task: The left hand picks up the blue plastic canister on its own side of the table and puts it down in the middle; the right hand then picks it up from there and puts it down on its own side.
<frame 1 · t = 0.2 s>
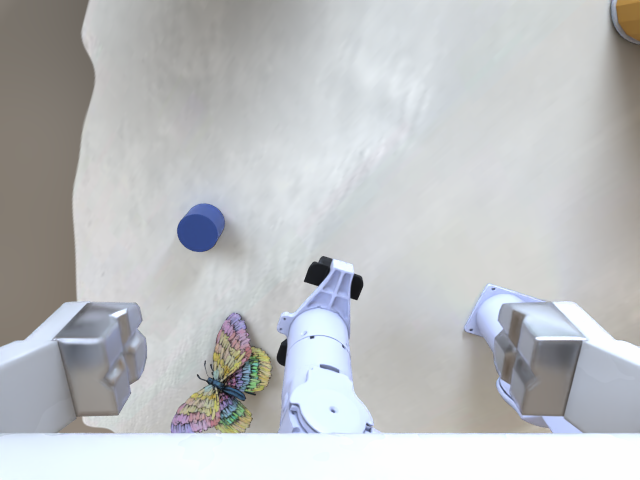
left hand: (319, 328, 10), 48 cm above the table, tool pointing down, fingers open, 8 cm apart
right hand: (318, 289, 52), fingers open, 7 cm apart
butterfly: (239, 355, 68), on the table
canister: (205, 221, 60), on the table
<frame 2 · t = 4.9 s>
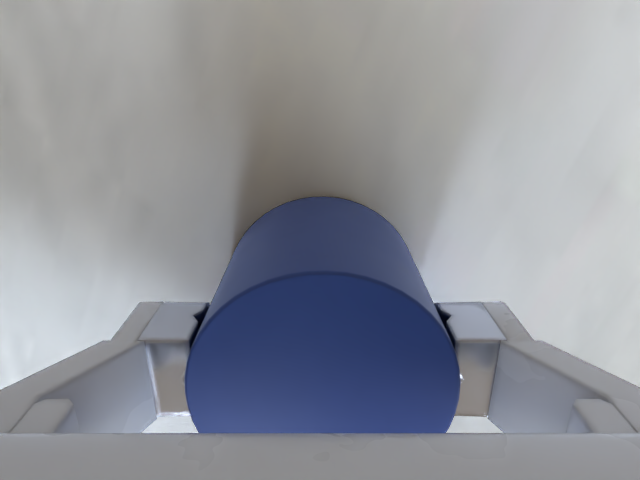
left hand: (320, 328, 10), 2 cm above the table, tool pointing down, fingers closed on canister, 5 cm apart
canister: (321, 284, 12), on the table, touching left hand
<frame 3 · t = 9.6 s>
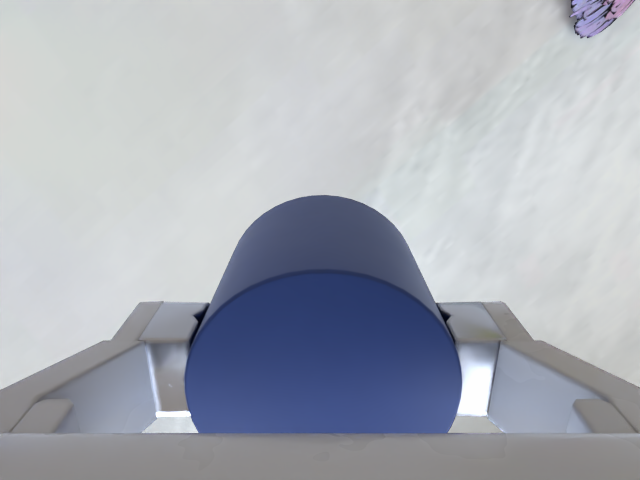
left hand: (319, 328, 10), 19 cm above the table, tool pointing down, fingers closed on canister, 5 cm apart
canister: (322, 284, 12), point 17 cm above the table, touching left hand
when the left hand's fingers open (3 cm above the table, at t = 14.5 s): canister stays where it is, on the table.
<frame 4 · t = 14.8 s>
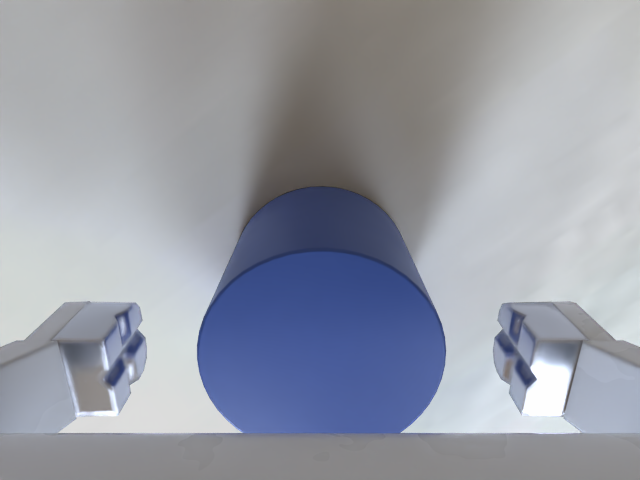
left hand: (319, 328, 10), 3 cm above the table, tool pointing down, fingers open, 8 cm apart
canister: (320, 269, 13), on the table
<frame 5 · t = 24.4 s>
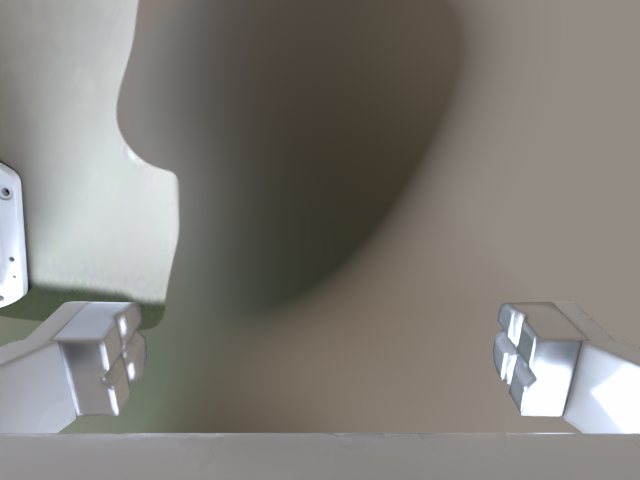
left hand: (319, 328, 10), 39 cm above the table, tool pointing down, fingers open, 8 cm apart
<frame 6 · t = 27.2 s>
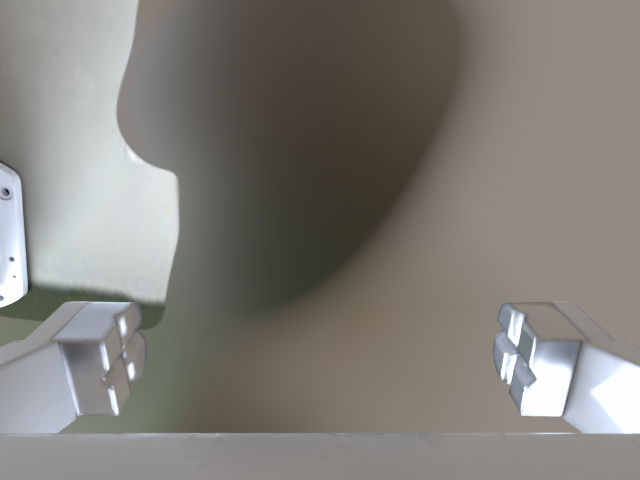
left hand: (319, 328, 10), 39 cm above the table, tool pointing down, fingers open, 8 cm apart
when the right hand's fingers open (2 cm above the table, at t = 30.5 s): canister stays where it is, on the table.
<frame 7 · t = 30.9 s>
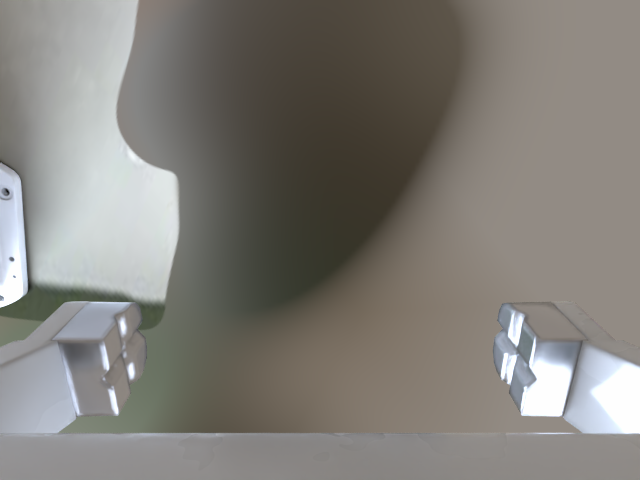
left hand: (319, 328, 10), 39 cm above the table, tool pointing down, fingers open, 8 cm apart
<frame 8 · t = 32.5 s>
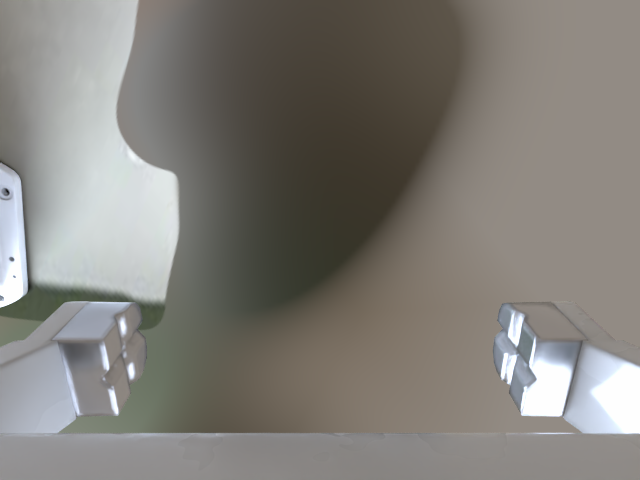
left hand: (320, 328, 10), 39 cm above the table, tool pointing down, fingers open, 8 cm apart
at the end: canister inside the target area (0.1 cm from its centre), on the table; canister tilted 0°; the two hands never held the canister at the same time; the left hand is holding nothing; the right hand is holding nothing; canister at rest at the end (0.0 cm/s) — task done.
